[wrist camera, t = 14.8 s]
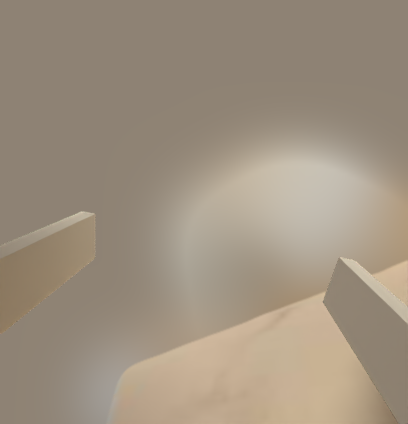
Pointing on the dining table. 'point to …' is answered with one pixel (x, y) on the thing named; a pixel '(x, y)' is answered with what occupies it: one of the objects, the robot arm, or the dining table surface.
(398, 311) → the robot arm
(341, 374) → the dining table surface
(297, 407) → the dining table surface
